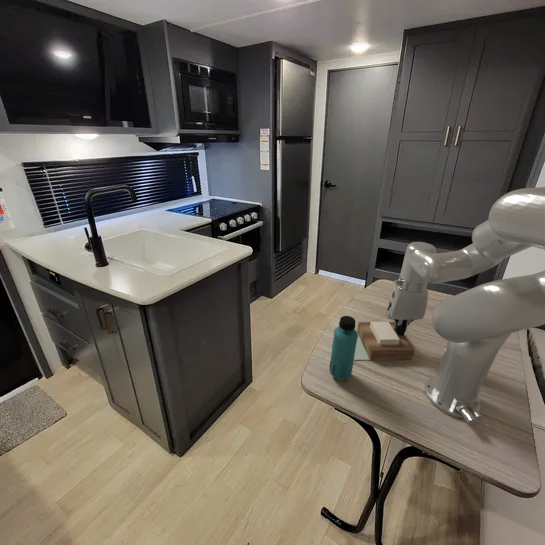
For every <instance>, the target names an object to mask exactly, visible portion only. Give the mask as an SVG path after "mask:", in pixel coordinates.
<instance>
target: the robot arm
mask: <svg viewBox="0 0 545 545" xmlns="http://www.w3.org/2000/svg"><path fill="white" fill-rule="evenodd" d="M488 213H489V214H488V219H487V220H486V221H484V222H482V223H480V224H479V225H477V226H475V228H474V229H473V230H472V233H471V234H472V235H471V241H472V243H471V244H469V245H467V246H465V247H464V248H462V249H459V250H455V251H446V252H438V253H437V248H436V247H435V246H434V245H433V244H430V243H427V242H423V241H412V242H411V243H409V244H408V245H407V246H406V250H405V254H404V257H403V262H402V267H401V271H400V274H399V276H398V279H394V281H393V283H394V285H395V286H394V288H393V290H392V292H391V294H390V296H389V301H388V304H387V312H386V314H385V317H386V319H387V320H391V321H393V322H396V325H395V332H396V333H397V334H398V336H401V335H402V336H404V335H405V333H406V332H407V329H408V328H407V327H409V326H410V325H411V323H412V322H414V321H415V320H422V319H424V318H425V316H426V312H427V307H428V306H427V305H428V301H429V289H428V288H427V286H428V284H431V285H432V284H433V285H434V284H441V283H446V282H452V281H459V280H465V279H467V278H470V277H474V276H476V275H478V274H481V273H483V272H485V271H487V270H489V269H491V268H494V267H495V266H497V265H498V264H500V263H501V262H502V261H504V259H507V258H508V257H511V256H513V255H516V254H518V253H521V252H522V251H524V250H527V249H530V248H531V247H533V248H537V249H541V250H545V186H538V187H526V188H519V189H515V190H512V191H511V190H510V191H509V192H507V193H505V194H504V195H502V196H501V197H499V198H498V199H497V200H496V201H495V202H494V204H493V205H492V206H491V208H490V210H489V212H488ZM431 323H432V327H433V328H434V330H435V332H436V333H437V334H438V335H439V336H440V337H441V338H442V339H444V340H446V341H448V342H447V344H446V347H445V349H444V353H443V355H442V359H441V361H440V364H439V366H438V369H437V372H436V375H435V376H433V377H430V378H429V379H427V380H426V383H425V385H424V392H425V395H426V396H427V399H428V400H429V401H430V402H431V404H432V405H434V406H435V407H436V408H437V409H439V410H440V411H442V412H444V413H445V414H447V415H450V416H452V417H456V418H459V419H464V420H465V422H466V423H467V424H468V426H473V425H475V424H476V423H477V420H481V419H482V418H483V416H482V414H481V413H480V412H479V411H480V409H481V403H480V400H479V397H478V395H479V393H480V391H481V389H482V388H483V384H484V383H485V380H486V378H487V377H488V374H489V372H490V370H491V367H492V366H493V364H494V362H495V360H496V358H497V356H498V354H499V352H500V350H501V348H502V347H503V345H504V344H505V343H506V342H507V340H508V339H509V338H510V336H511V335H512V334H513V333H517V332H520V331H524V330H528V329H532V328H537V327H540V326H543V325H545V270H542V271H539V272H536V273H532V274H528V275H520V276H514V277H508V278H503V279H497V280H493V281H489V282H485V283H482V284H479V285H477V286H474V287H472V288H469V289H467V290H465V291H462V292H459V293H458V294H455V295H453V296H451V297H448V298H445V299H444V300H441V301H440V302H439V303H438V304H436V306H435V307H434V309H433V312H432V314H431Z"/></svg>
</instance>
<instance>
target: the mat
mask: <svg viewBox="0 0 545 545" xmlns="http://www.w3.org/2000/svg"><path fill="white" fill-rule="evenodd" d="M354 358H355V359H354V361H371V360H370V359H369V356H368V354H367V352H366V350H365V348H364V345H363V343H362V341H361V339H360V337H359V335H358V338H357V343H356V349H355V355H354Z"/></svg>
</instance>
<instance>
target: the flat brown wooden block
mask: <svg viewBox="0 0 545 545" xmlns="http://www.w3.org/2000/svg"><path fill="white" fill-rule="evenodd" d="M371 322H372V321H370V322H369V321H368V322H367V321H363V322H362V321H361V322H360V321H359V322H358V326H357V330H356V331H357V333H358V336H359V337H360V339H361V342H362V344H363V346H364V348H365V350H366V353H367V355H368V357H369V359H370V360H369V361H411V360H413V357H414V353H415V352H416V351H415V348H414V347H413V345H412V344H411V342H410V341H409V339H408V338H407V337H406V334H404V336H402V335H401V336H398V334H397V333H396V332H395V333H396V334H397V336H398V338H399V339H400V340H399V344H393V345H379V343H378V341H377V339H376V338H375V336H374V334H373V332H372V330H371V328H370V323H371ZM388 322H389V324H390V325H391V327H392V328H393V330H394V331H395V325H396V322H395V321H388Z"/></svg>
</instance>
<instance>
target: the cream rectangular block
mask: <svg viewBox="0 0 545 545" xmlns="http://www.w3.org/2000/svg"><path fill="white" fill-rule="evenodd" d="M370 322H371V323H370V328H371V330H372V332H373V334H374V336H375V338H376V339H377V341H378V343H379V345H393V344H399V340H400V339H399V338H398V336H397V334H396V333H395V331H394V330H393V328H392V327H391V325H390V324H389V322H390V321H370Z"/></svg>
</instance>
